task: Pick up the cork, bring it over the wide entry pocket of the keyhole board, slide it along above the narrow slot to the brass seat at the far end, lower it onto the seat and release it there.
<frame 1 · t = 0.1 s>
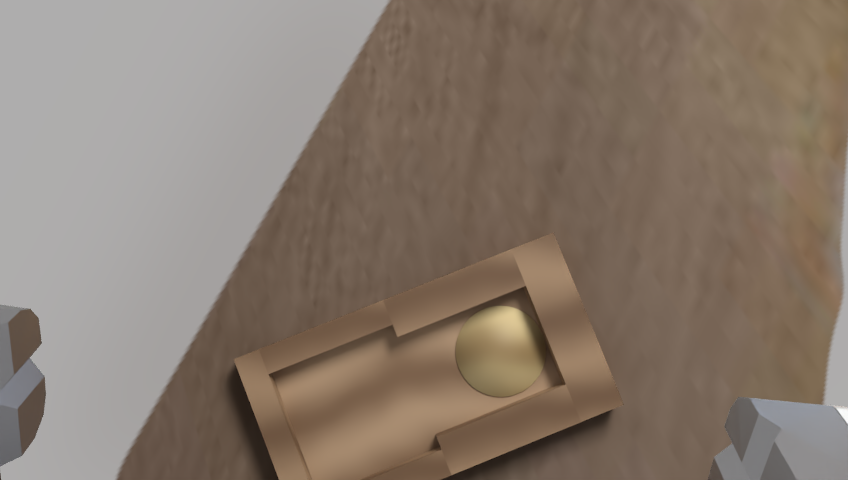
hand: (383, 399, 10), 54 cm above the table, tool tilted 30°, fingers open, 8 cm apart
keyhole board: (428, 379, 63), on the table
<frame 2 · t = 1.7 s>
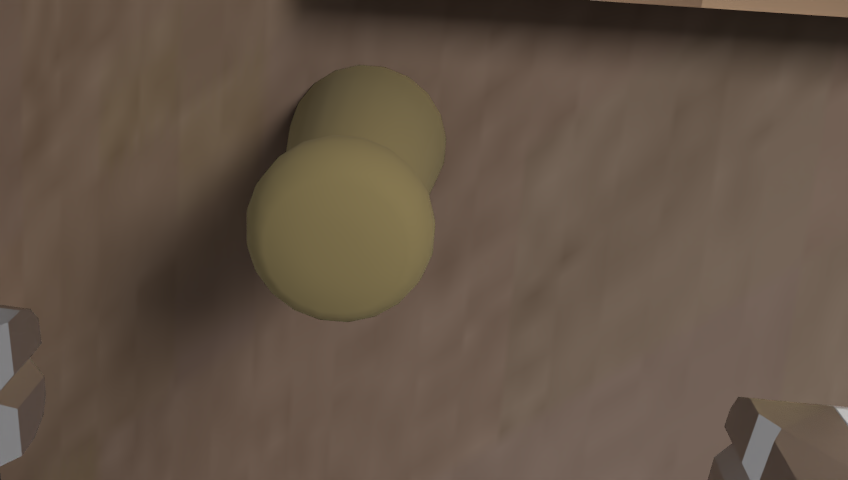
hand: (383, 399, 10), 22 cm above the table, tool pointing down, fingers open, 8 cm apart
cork: (367, 143, 31), on the table
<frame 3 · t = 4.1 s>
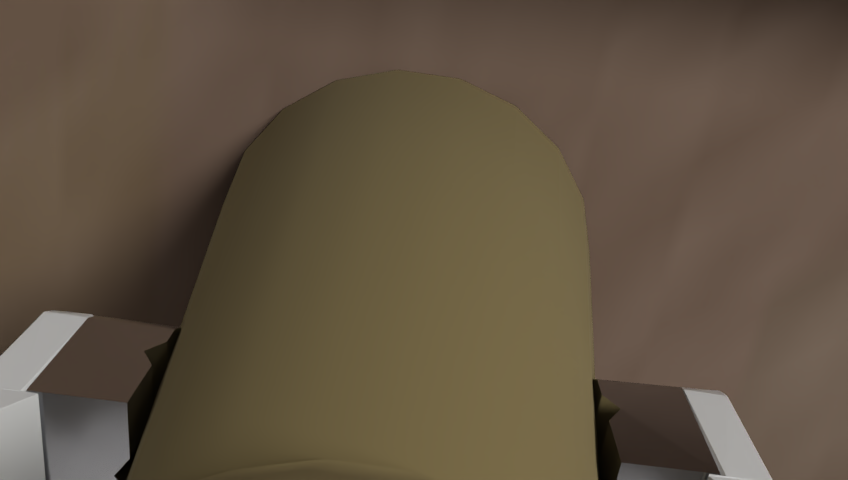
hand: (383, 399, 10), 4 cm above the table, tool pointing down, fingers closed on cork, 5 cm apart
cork: (404, 248, 13), on the table, touching gripper
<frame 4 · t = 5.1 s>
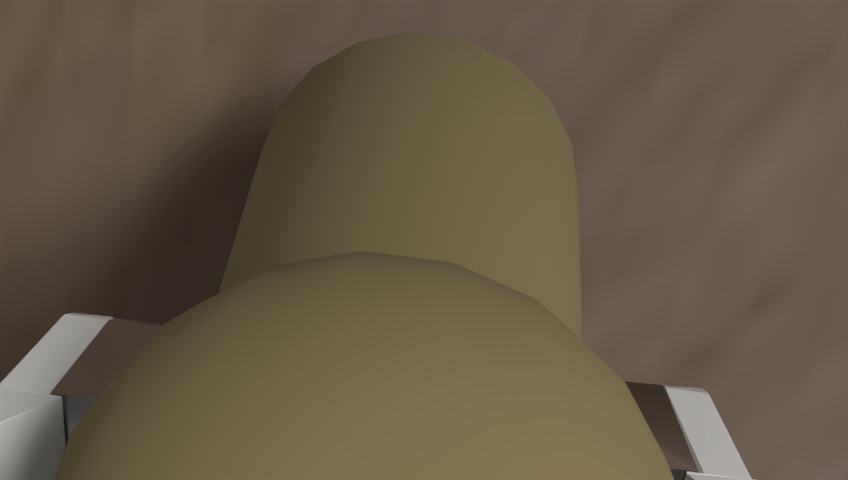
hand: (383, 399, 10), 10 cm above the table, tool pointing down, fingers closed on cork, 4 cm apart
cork: (417, 192, 15), point 3 cm above the table, touching gripper
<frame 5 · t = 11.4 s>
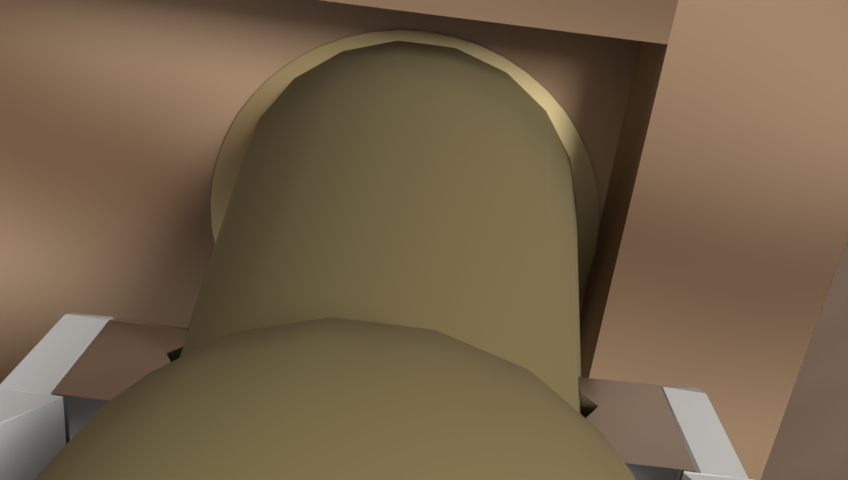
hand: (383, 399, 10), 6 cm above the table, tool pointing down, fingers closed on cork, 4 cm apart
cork: (406, 207, 15), point 1 cm above the table, touching gripper, keyhole board
keyhole board: (92, 171, 15), on the table
when the fingers open (6 cm above the table, at t = 12.2 s): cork stays where it is, resting on keyhole board.
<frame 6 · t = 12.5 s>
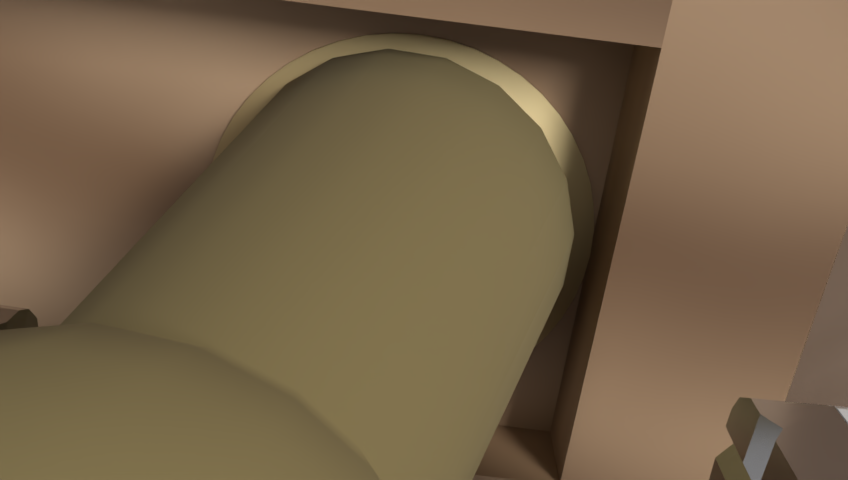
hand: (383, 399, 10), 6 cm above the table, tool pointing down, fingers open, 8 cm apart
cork: (399, 222, 14), point 1 cm above the table, touching gripper, keyhole board
keyhole board: (87, 174, 15), on the table
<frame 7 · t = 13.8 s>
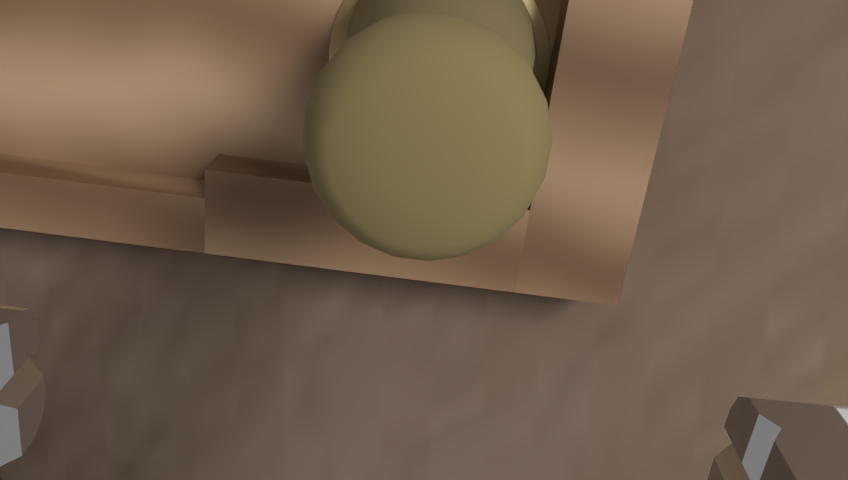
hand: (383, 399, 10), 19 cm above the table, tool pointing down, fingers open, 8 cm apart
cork: (440, 52, 26), point 1 cm above the table, touching keyhole board
keyhole board: (257, 34, 26), on the table
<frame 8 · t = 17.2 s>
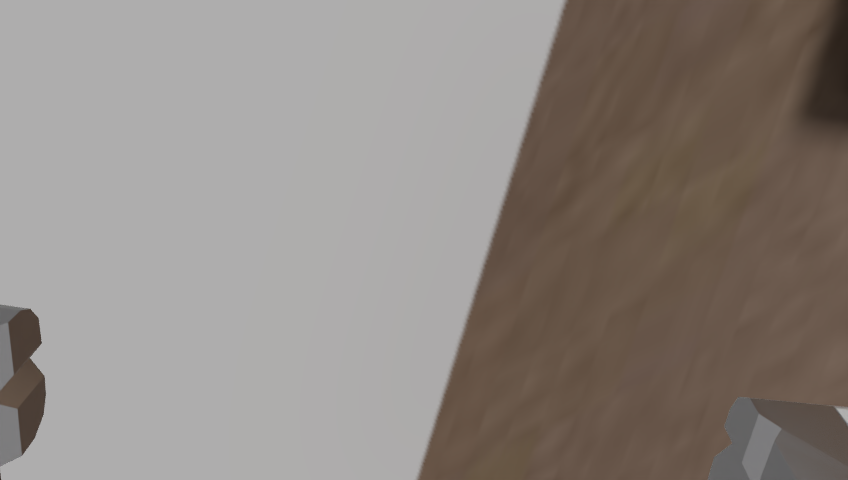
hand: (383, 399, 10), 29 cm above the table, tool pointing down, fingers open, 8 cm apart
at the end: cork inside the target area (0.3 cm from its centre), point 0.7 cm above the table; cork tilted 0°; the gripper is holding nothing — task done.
